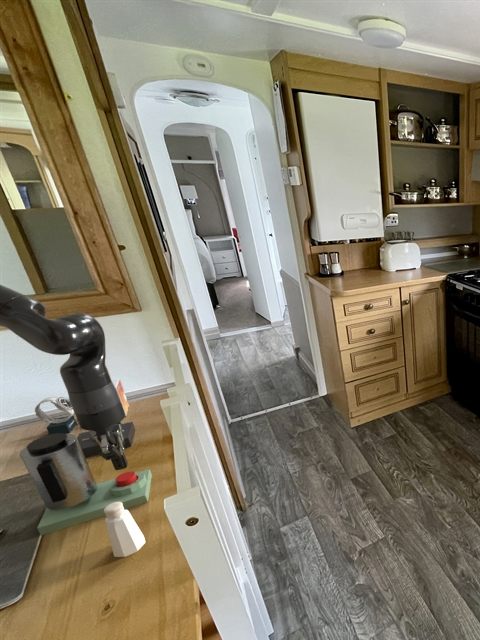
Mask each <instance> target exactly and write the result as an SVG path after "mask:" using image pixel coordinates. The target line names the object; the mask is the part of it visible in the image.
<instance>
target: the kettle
mask: <svg viewBox="0 0 480 640" xmlns="http://www.w3.org/2000/svg"><path fill="white" fill-rule="evenodd" d="M77 437H78V436H77V435H75V434H72V433H67V434H64V433H57V434H51V435H49V434H48V435H43V436H42V437H38V438H36V439H34V440H32V441H31V442H29V443H28V444H27V445H26V446H25V447H24V448H23V449H21V450H20V452H19V456H20V458H21V461H23V465H24V466H25V468H26V470H27V472H28V474H29V476H30V478H31V480H32V482H33V484H34V486H35V488H36V490H37V492H38V494H39V496H40V498H41V499H42V502H43V504H44V506H45V508H48V509H50V510H61V509H66V508H69V507H72V506H75V505H77V504H79V503H81V502H83V501H85V500H87V499H88V498H90V497H91V496H92V495H93V494H94V493H95V492H96V491H97V488H98V487H97V484H98V483H97V482H96V480H95V477H94V475H93V473H92V470H91V468H90V465H89V463H88V461H87V457H86V458H85V456H84V454H83V451H82V449H81V447H80V444H79V442H78V439H77Z"/></svg>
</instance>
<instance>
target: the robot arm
mask: <svg viewBox="0 0 480 640" xmlns="http://www.w3.org/2000/svg"><path fill="white" fill-rule="evenodd" d="M46 316H47V307H46V305H44V303H42V302H41V301H39V300H37V299H35V298H33V297H31V296H28V295H26V294H23V293H21V292H18V291H16V290H14V289H12V288H9V287H7V286H4V285H3V284H0V327H2V328H5V329H8V330H9V331H10V332H12V333H13V334H15V335H16V336H17V337H19V338H21V340H23V341H25V342H26V343H27V344H29V345H30V346H32V347H33V348H35V349H37V350H38V351H41V352H43V353H46V354H49V355H50V354H51V355H55V356H66V355H69V356H68V358H67V360H66V361H64V363H62V364H61V366H60V367H59V374H60V377H61V379H62V382H63V384H64V387H65V389H66V391H67V395H68V399H69V400H70V403H71V406H72V408H73V410H74V413H73V414H74V415H75V418H76V420H77V423H78V425H79V427H80V428H81V429H82V430H84V431H89V430H91V431H95V432H96V434H95V435H94V438H95V440H96V442H98V443H99V445H100V448H97V452H98V454H99V456H100V457H102V458H103V459H104V460H105V461H111V464H112V466H113V469H114V470H115V471H120V470H125V469H127V467H128V464H129V461H128V459H127V457H126V454H125V448H124V447H123V445H124V443H125V442H124V438H123V432H122V426H121V424H123V423H122V421H123V420H125V418H126V416H125V412H124V409H123V406H122V403H121V401H120V398H119V395H118V392H117V390H116V388H115V386H114V384H113V383H112V381H113V380H112V378H111V375H110V372H109V370H108V368H107V365H106V357H107V356H106V355H107V354H106V336H105V335H106V334H105V331H104V328H103V327H102V324H101V323H100V322H99V321H98V320H97V319H96V318H95V317H93V316H92V315H90V314H88V313H84V312H71V313H68V314H65V315H63V316H60V317H57V318H52V319H50V318H47V317H46Z"/></svg>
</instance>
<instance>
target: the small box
mask: <svg viewBox="0 0 480 640" xmlns="http://www.w3.org/2000/svg"><path fill="white" fill-rule="evenodd" d="M111 381H112V383H113V384H114V386H115V388H116V390H117V392H118V395H119V398H120V401H121V403H122V406H123V409H124V412H125V417H127V416H128V412H129V409H128V407H129V408H130V405H129V401H128V398H127V396H126V392H125V389H124V386H123V384H122V381H121V379H113V380H111Z"/></svg>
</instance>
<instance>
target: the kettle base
mask: <svg viewBox="0 0 480 640" xmlns="http://www.w3.org/2000/svg"><path fill="white" fill-rule="evenodd" d="M134 472H135V474H136V477H137V480H136V481H135V482H134V483H132V484H130V485H128V486H124V487H118V485H117V483H116V480H115V479H116V478H113V479H108V480H105V481H101V482H98V483H96V484H97V487H98V488H97V491H96V492H95V493H94V494H93V495H92V496H91V497H90V498H88V499H87V500H85V501H83V502H81V503H79V504H77V505H75V506H72V507H69V508H66V509H61V510H50V509H48V508H47V507H45V510H44V512H43V514H42V517H41V519H40V520H39V523H38V525H37V527H36V528H37V531H38V533H39V535H40V536H45V535H47V534H50V533H53V532H57V531H60V530H63V529H66V528H71V527H73V526H75V525H79V524H83V523H85V522H89V521H92V520H95V519H98V518H102V517H105V516H106V513H105V512H104V509H105V507H106V506H108V505H109V504H111V503H114V502H122V504H123V507H124V510H128V509H131V508H134V507H137V506H140V505H143V504H146V503H149V497H150V491H151V484H152V478H153V474H152V472H151V469H150V468H148V469H144V470H141V471H134Z"/></svg>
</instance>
